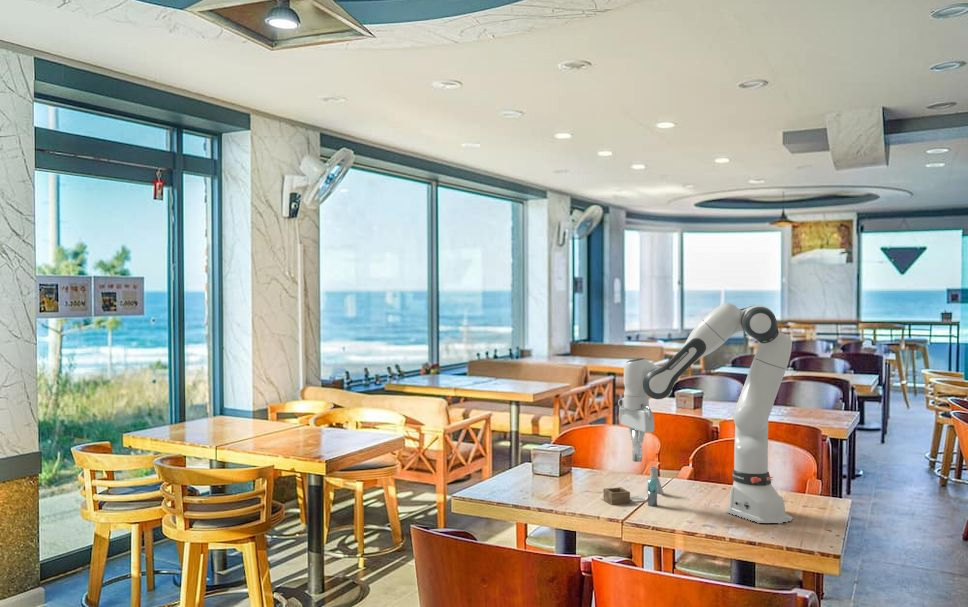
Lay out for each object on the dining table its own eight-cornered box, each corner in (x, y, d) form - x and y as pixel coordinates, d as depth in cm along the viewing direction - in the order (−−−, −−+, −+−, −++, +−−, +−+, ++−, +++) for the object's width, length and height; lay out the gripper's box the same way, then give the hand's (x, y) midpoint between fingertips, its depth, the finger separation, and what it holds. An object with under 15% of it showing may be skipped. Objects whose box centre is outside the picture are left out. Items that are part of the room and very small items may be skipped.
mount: (649, 504, 271) (649, 490, 271) (611, 508, 267) (611, 494, 267) (638, 499, 279) (638, 485, 279) (601, 502, 275) (601, 488, 275)
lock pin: (643, 461, 273) (643, 430, 273) (635, 462, 272) (634, 431, 272) (639, 459, 276) (638, 429, 276) (630, 460, 275) (630, 430, 275)
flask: (662, 491, 290) (662, 465, 289) (665, 496, 282) (665, 470, 282) (643, 491, 290) (643, 465, 290) (645, 496, 283) (645, 469, 283)
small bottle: (658, 508, 266) (658, 480, 266) (650, 509, 265) (650, 481, 265) (654, 506, 269) (654, 478, 269) (646, 507, 268) (646, 479, 268)
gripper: (658, 406, 265) (659, 445, 265) (631, 399, 284) (631, 435, 284) (642, 407, 263) (643, 447, 263) (615, 400, 283) (616, 437, 283)
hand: (637, 441), depth 274 cm, fingers closed on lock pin, 3 cm apart
